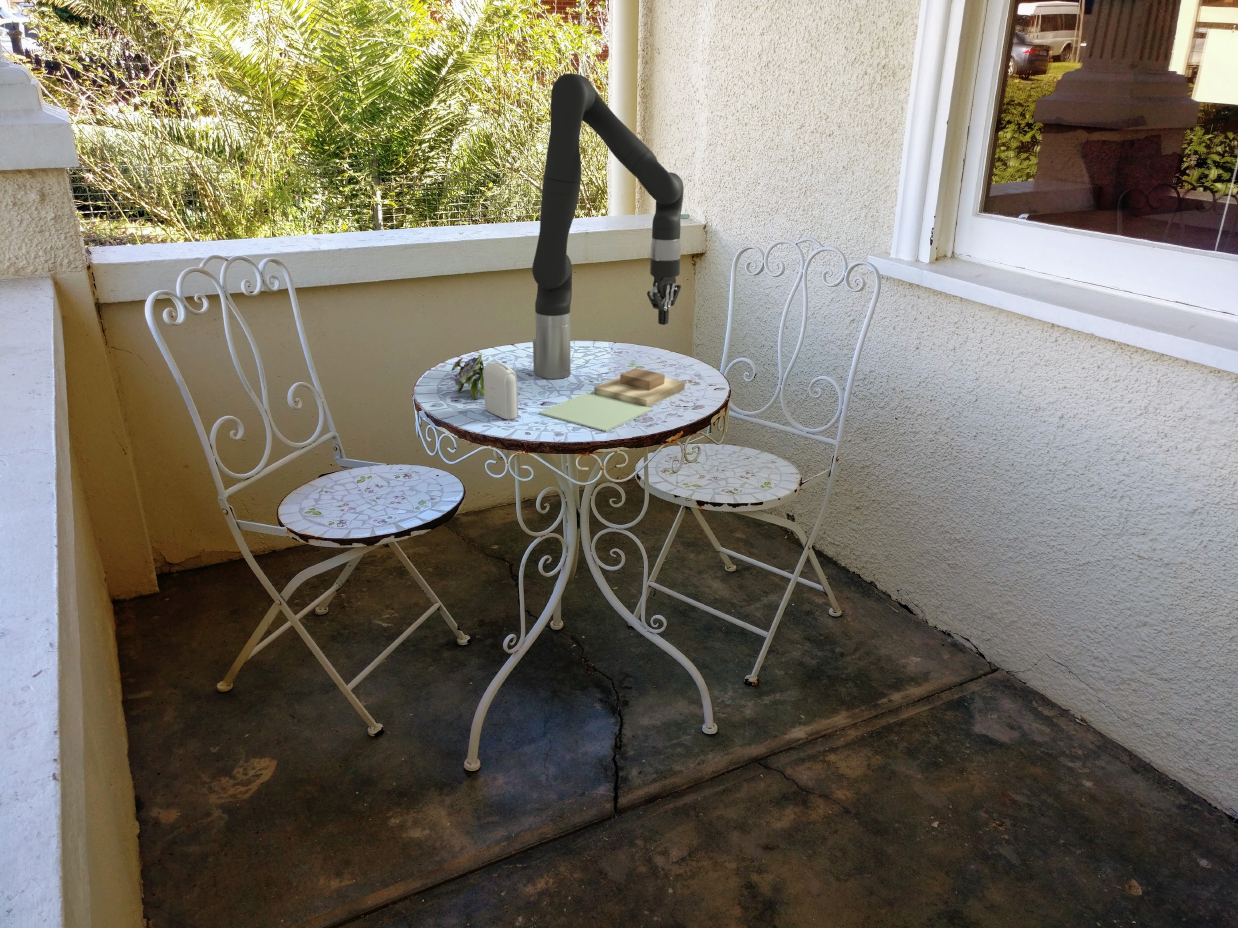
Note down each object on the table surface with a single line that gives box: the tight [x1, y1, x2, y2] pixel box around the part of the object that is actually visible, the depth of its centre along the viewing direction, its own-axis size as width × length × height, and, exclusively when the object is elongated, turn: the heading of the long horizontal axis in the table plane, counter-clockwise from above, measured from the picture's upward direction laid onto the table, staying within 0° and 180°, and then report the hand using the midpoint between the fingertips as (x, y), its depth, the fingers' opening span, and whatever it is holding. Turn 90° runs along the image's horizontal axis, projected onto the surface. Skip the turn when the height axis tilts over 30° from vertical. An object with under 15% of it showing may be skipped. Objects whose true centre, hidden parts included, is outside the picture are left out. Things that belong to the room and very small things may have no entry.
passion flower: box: [451, 353, 485, 401], centre depth 224 cm, size 11×11×12 cm
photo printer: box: [483, 361, 519, 420], centre depth 208 cm, size 10×4×12 cm, turn 39°
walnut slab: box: [619, 368, 666, 391], centre depth 227 cm, size 9×7×2 cm
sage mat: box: [538, 391, 653, 433], centre depth 213 cm, size 20×19×1 cm
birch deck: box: [593, 376, 686, 408], centre depth 227 cm, size 16×18×2 cm
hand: (663, 324), depth 229 cm, fingers closed
